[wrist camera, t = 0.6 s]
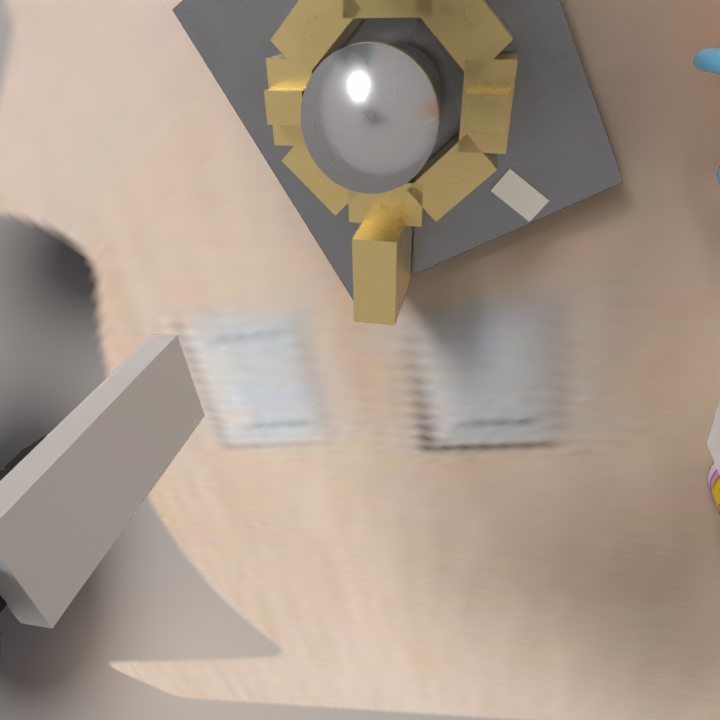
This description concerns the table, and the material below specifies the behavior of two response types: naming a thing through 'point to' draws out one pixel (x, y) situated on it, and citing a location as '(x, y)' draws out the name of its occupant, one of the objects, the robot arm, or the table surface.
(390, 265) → the tan handled ring
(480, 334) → the table surface
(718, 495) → the supplement bottle
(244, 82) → the flange plate
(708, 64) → the cylinder
